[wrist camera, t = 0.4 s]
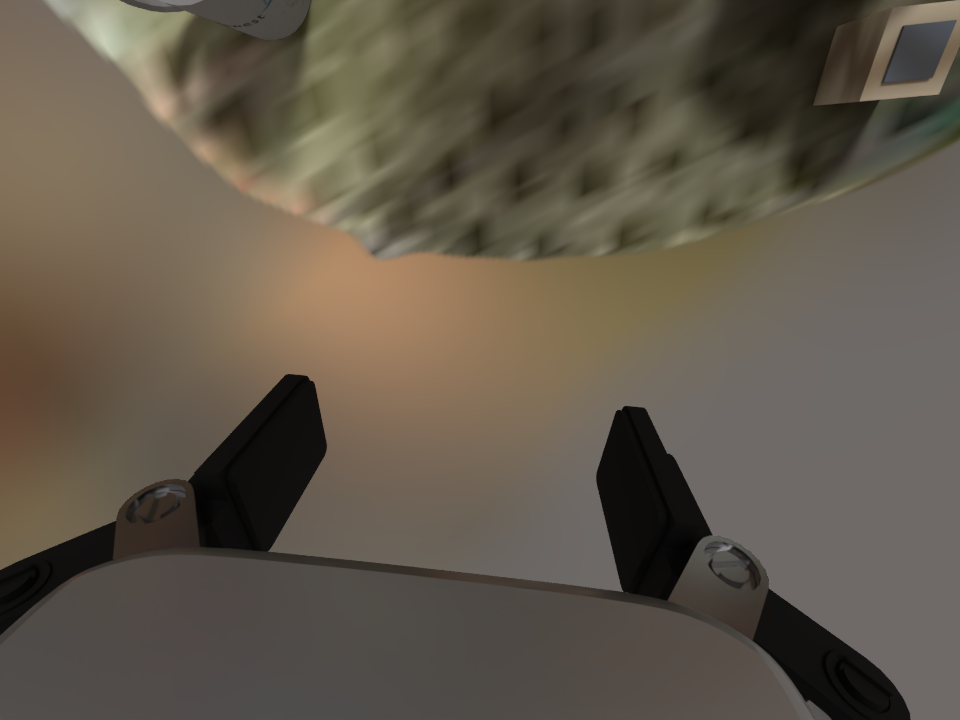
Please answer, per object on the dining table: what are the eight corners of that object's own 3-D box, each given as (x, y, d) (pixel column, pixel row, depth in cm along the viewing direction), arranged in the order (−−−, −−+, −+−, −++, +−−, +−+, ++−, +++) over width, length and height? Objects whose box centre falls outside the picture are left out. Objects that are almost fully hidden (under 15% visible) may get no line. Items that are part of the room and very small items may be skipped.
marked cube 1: (836, 26, 29) (895, 6, 24) (909, 18, 28) (984, -4, 24) (812, 105, 31) (861, 101, 27) (879, 99, 31) (941, 94, 26)
